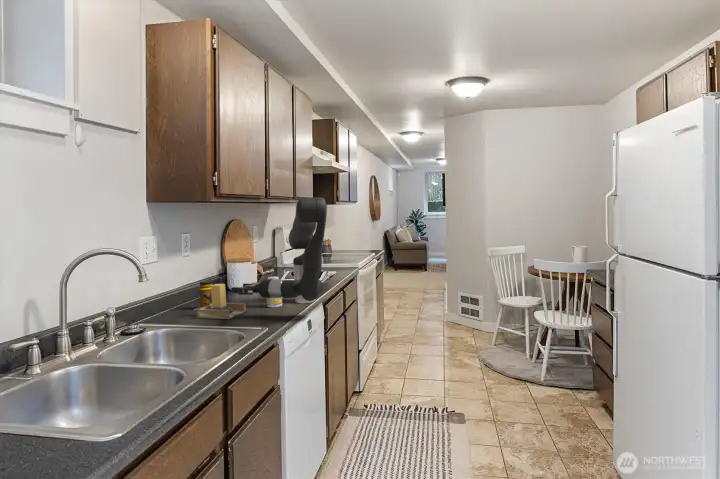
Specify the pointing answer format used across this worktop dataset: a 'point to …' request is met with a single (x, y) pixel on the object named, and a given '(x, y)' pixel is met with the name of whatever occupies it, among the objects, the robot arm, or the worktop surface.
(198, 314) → the walled box
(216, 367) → the worktop surface
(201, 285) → the condiment
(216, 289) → the yellow upright block
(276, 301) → the supplement bottle
